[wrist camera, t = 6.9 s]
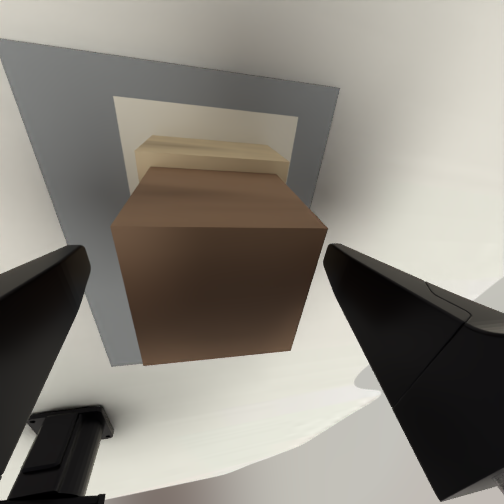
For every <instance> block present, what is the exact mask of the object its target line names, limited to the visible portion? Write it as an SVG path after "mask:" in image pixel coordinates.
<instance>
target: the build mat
mask: <svg viewBox="0 0 504 504" xmlns="http://www.w3.org/2000/svg"><path fill="white" fill-rule="evenodd" d="M0 59H1V61H2V64H3V67H4V70H5V73H6V75H7V78H8V81H9V84H10V86H11V89H12V92H13V95H14V98H15V100H16V103H17V106H18V109H19V111H20V114H21V117H22V120H23V123H24V125H25V128H26V131H27V134H28V136H29V139H30V142H31V145H32V147H33V150H34V153H35V156H36V159H37V161H38V164H39V167H40V170H41V172H42V175H43V178H44V181H45V184H46V186H47V189H48V192H49V195H50V197H51V200H52V203H53V206H54V208H55V211H56V214H57V217H58V220H59V222H60V225H61V228H62V231H63V233H64V236H65V239H66V242H67V245H83V246H84V247H85V249H86V252H87V255H88V258H89V261H90V264H91V272H90V276H89V279H88V282H87V285H86V288H85V294H86V297H87V300H88V303H89V306H90V308H91V311H92V314H93V317H94V319H95V322H96V325H97V328H98V330H99V333H100V336H101V339H102V342H103V344H104V347H105V350H106V353H107V355H108V358H109V361H110V364H111V367H113V366H123V365H133V364H143V362H142V358H141V354H140V349H139V345H138V341H137V337H136V333H135V328H134V324H133V320H132V316H131V312H130V307H129V303H128V299H127V295H126V291H125V286H124V282H123V278H122V274H121V270H120V265H119V261H118V257H117V253H116V249H115V244H114V240H113V236H112V232H111V228H110V226H111V224H112V223H113V221H114V220H115V218H116V217H117V215H118V214H119V212H120V211H121V209H122V208H123V206H124V205H125V203H126V202H127V200H128V199H129V197H130V196H131V194H132V193H133V192H134V190H135V189H136V187H137V186H138V184H139V179H138V172H137V165H136V159H135V152H134V151H135V150H136V149H137V148H138V147H139V146H140V145H142V144H143V143H144V142H145V141H146V140H147V139H148V138H149V137H151V136H152V135H156V136H168V137H179V138H191V139H203V140H215V141H227V142H238V143H250V144H262V145H268V146H269V147H271V148H272V149H273V150H275V151H276V152H277V153H279V154H280V155H281V156H283V157H284V158H285V159H287V160H288V161H289V162H290V163H289V169H288V174H287V180H286V185H287V186H288V187H289V188H290V189H291V190H292V191H293V192H294V193H295V194H296V195H297V196H298V197H299V198H300V200H301V201H302V202H303V203H304V204H305V205H306V206H307V207H308V208H309V209H310V206H311V202H312V198H313V194H314V190H315V186H316V182H317V178H318V174H319V170H320V166H321V162H322V158H323V154H324V150H325V146H326V142H327V138H328V134H329V130H330V126H331V122H332V118H333V114H334V110H335V106H336V102H337V98H338V94H339V90H340V88H336V87H330V86H323V85H316V84H309V83H302V82H295V81H288V80H281V79H275V78H268V77H261V76H254V75H247V74H240V73H233V72H227V71H220V70H213V69H206V68H199V67H192V66H185V65H178V64H172V63H165V62H158V61H151V60H144V59H137V58H130V57H123V56H117V55H110V54H103V53H96V52H89V51H82V50H75V49H69V48H62V47H55V46H48V45H41V44H34V43H27V42H20V41H14V40H7V39H0Z"/></svg>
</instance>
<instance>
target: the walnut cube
mask: <svg viewBox="0 0 504 504" xmlns="http://www.w3.org/2000/svg"><path fill="white" fill-rule="evenodd" d="M110 228H111V232H112V236H113V240H114V244H115V249H116V253H117V257H118V261H119V265H120V270H121V274H122V278H123V282H124V286H125V291H126V295H127V299H128V303H129V307H130V312H131V316H132V320H133V324H134V328H135V333H136V337H137V341H138V345H139V349H140V354H141V358H142V362H143V366H147V365H157V364H167V363H176V362H186V361H196V360H205V359H215V358H225V357H235V356H244V355H254V354H264V353H273V352H283V351H291V348H292V344H293V341H294V338H295V335H296V331H297V328H298V325H299V321H300V318H301V315H302V312H303V308H304V305H305V302H306V299H307V295H308V292H309V289H310V286H311V282H312V279H313V276H314V273H315V269H316V266H317V263H318V259H319V256H320V253H321V250H322V246H323V243H324V240H325V237H326V233H327V230H328V228H327V227H326V226H325V225H324V224H323V223H322V222H321V221H320V219H319V218H318V217H317V216H316V215H315V214H314V213H313V212H312V211H311V210H310V209H309V208H308V207H307V206H306V205H305V204H304V203H303V202H302V201H301V200H300V198H299V197H298V196H297V195H296V194H295V193H294V192H293V191H292V190H291V189H290V188H289V187H288V186H287V185H286V184H285V183H284V182H283V181H282V180H281V179H280V177H279V176H278V175H277V174H270V173H253V172H236V171H219V170H202V169H185V168H168V167H151V166H150V168H149V169H148V171H147V172H146V174H145V175H144V177H143V178H142V180H141V181H140V183H139V184H138V186H137V187H136V189H135V190H134V192H133V193H132V194H131V196H130V197H129V199H128V200H127V202H126V203H125V205H124V206H123V208H122V209H121V211H120V212H119V214H118V215H117V217H116V218H115V220H114V221H113V223H112V224H111V226H110Z"/></svg>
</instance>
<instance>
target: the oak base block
mask: <svg viewBox="0 0 504 504" xmlns="http://www.w3.org/2000/svg"><path fill="white" fill-rule="evenodd" d="M134 152H135V159H136V165H137V172H138V179H139V183H140V181H141V180H142V178H143V177H144V175H145V174H146V172H147V171H148V169H149V168H150V166H151V167H168V168H185V169H202V170H219V171H236V172H253V173H270V174H277V175H278V176H279V177H280V179H281V180H282V181H283V182H284V183H285V184H286V180H287V174H288V169H289V163H290V162H289V161H288V160H287V159H285V158H284V157H283V156H281V155H280V154H279V153H277V152H276V151H275V150H273V149H272V148H271V147H269V146H268V145H262V144H250V143H238V142H227V141H215V140H203V139H191V138H179V137H168V136H156V135H152V136H151V137H149V138H148V139H147V140H146V141H145V142H144V143H143V144H142V145H140V146H139V147H138V148H137V149H136V150H135V151H134Z"/></svg>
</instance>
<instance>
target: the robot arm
mask: <svg viewBox="0 0 504 504" xmlns="http://www.w3.org/2000/svg"><path fill="white" fill-rule="evenodd" d="M323 265H324V268H325V271H326V274H327V276H328V279H329V282H330V284H331V287H332V290H333V292H334V294H335V297H336V299H337V301H338V303H339V305H340V307H341V309H342V311H343V313H344V315H345V317H346V319H347V321H348V323H349V325H350V326H351V328H352V330H353V332H354V334H355V336H356V338H357V340H358V342H359V344H360V346H361V348H362V350H363V352H364V354H365V356H366V358H367V360H368V362H369V364H370V366H371V368H372V370H373V372H374V374H375V375H376V378H377V380H378V382H379V383H380V386H381V387H382V390H383V391H384V393H385V395H386V397H387V399H388V401H389V403H390V405H391V407H392V409H393V411H394V413H395V415H396V417H397V419H398V421H399V423H400V425H401V427H402V429H403V431H404V433H405V435H406V437H407V439H408V441H409V443H410V445H411V447H412V449H413V451H414V453H415V455H416V457H417V459H418V461H419V463H420V465H421V467H422V468H423V471H424V473H425V474H426V477H427V478H428V480H429V482H430V484H431V486H432V488H433V490H434V492H435V494H436V496H437V497H438V499H439V500H440V502H442V501H446V500H449V499H452V498H456V497H460V496H463V495H467V494H471V493H474V492H478V491H481V490H485V489H488V488H492V487H495V486H498V488H499V489H500V490H501V492H502V493H503V494H504V313H502V312H499V311H497V310H494V309H492V308H489V307H486V306H484V305H481V304H479V303H476V302H474V301H471V300H469V299H466V298H464V297H461V296H459V295H456V294H454V293H452V292H449V291H447V290H445V289H442V288H440V287H438V286H435V285H433V284H431V283H428V282H424V280H421V279H419V278H417V277H415V276H412V275H410V274H408V273H405V272H403V271H401V270H399V269H396V268H394V267H392V266H390V265H387V264H385V263H383V262H380V261H378V260H376V259H374V258H371V257H369V256H367V255H365V254H362V253H360V252H358V251H355V250H353V249H351V248H349V247H346V246H344V245H342V244H339V243H332V244H329V245H328V247H327V250H326V253H325V257H324V260H323ZM90 272H91V264H90V261H89V258H88V255H87V252H86V249H85V247H84V246H83V245H67V246H65V247H63V248H60V249H58V250H56V251H53V252H51V253H49V254H46V255H44V256H42V257H39V258H37V259H35V260H32V261H30V262H28V263H25V264H23V265H21V266H18V267H16V268H14V269H11V270H9V271H7V272H4V273H2V274H0V480H1V478H2V476H1V475H2V474H3V473H4V471H5V469H6V466H7V464H8V462H9V460H10V458H11V456H12V453H13V451H14V449H15V447H16V445H17V443H18V440H19V438H20V436H21V434H22V432H23V430H24V427H25V425H26V423H27V424H28V425H29V426H30V427H31V428H32V430H33V431H34V432H35V433H36V434H37V436H36V438H35V440H34V442H33V444H32V446H31V448H30V451H29V453H28V455H27V457H26V459H25V461H24V463H23V465H22V467H21V470H20V473H19V475H18V477H17V479H16V481H15V483H14V485H13V487H12V489H11V492H10V494H9V496H8V498H7V500H2V501H0V504H104V500H105V494H99V495H98V496H85V494H86V490H87V487H88V483H89V480H90V476H91V472H92V469H93V465H94V462H95V458H96V455H97V451H98V448H99V444H100V441H101V439H108V438H111V437H113V434H114V431H113V429H112V427H111V424H110V422H109V420H108V418H107V416H106V414H105V412H104V410H103V408H102V407H99V406H98V407H89V408H82V409H74V410H66V411H59V412H51V413H43V414H36V415H31V416H30V414H31V412H32V410H33V408H34V406H35V404H36V401H37V399H38V397H39V395H40V393H41V391H42V388H43V386H44V384H45V382H46V380H47V378H48V375H49V373H50V371H51V369H52V367H53V365H54V362H55V360H56V358H57V356H58V354H59V352H60V349H61V347H62V345H63V343H64V341H65V339H66V336H67V334H68V332H69V330H70V328H71V326H72V323H73V321H74V319H75V317H76V315H77V312H78V310H79V307H80V304H81V301H82V298H83V295H84V292H85V288H86V285H87V282H88V279H89V276H90Z"/></svg>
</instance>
